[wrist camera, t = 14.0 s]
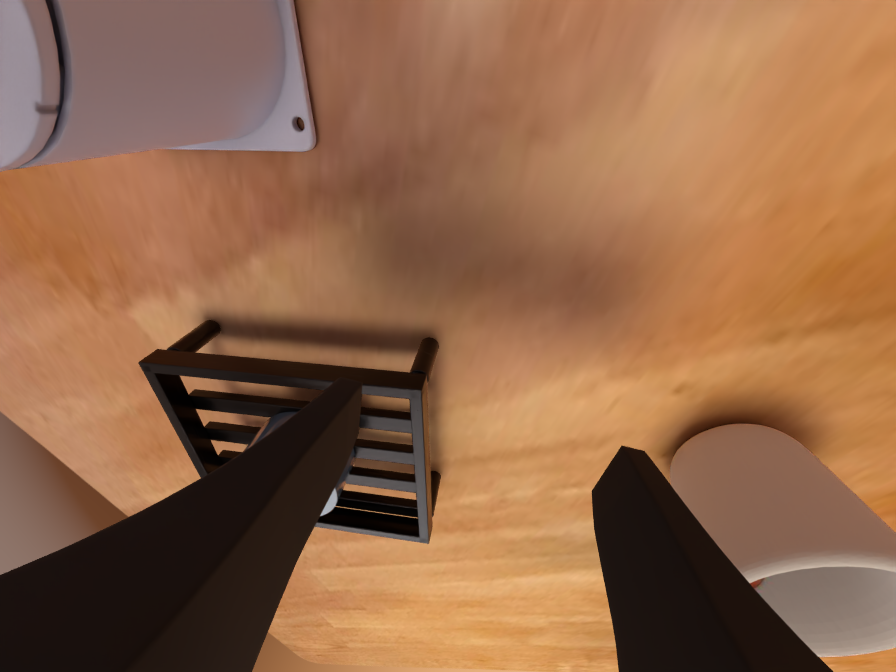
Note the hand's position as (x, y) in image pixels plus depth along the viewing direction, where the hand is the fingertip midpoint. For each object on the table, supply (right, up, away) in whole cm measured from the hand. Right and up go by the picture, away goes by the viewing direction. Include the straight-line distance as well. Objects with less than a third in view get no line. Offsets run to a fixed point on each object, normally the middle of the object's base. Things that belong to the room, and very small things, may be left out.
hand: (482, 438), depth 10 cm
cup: (+16, -4, +11) cm, 20 cm away
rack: (-8, -2, +14) cm, 16 cm away
